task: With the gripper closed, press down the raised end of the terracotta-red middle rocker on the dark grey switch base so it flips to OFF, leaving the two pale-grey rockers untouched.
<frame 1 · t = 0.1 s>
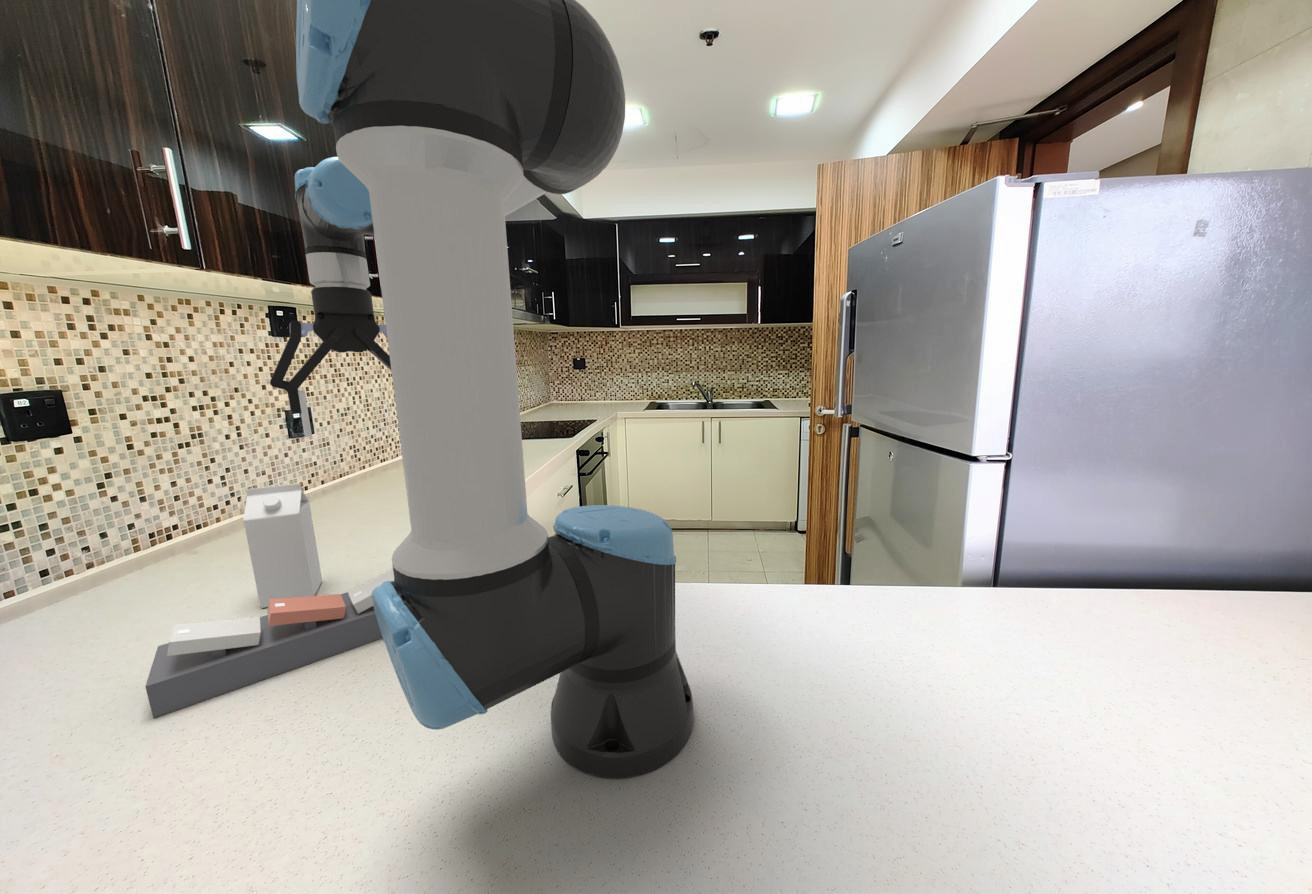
hand: (361, 430, 74), 28 cm above the worktop, fingers open, 13 cm apart
rocker grey 2: (382, 586, 69), point 6 cm above the worktop, hinge at -15.0°
rocker red: (307, 608, 64), point 6 cm above the worktop, hinge at 15.0°
dark grey switch base: (313, 644, 66), on the worktop
rocker grey 1: (217, 634, 58), point 6 cm above the worktop, hinge at 15.0°
milk carton: (293, 595, 80), on the worktop
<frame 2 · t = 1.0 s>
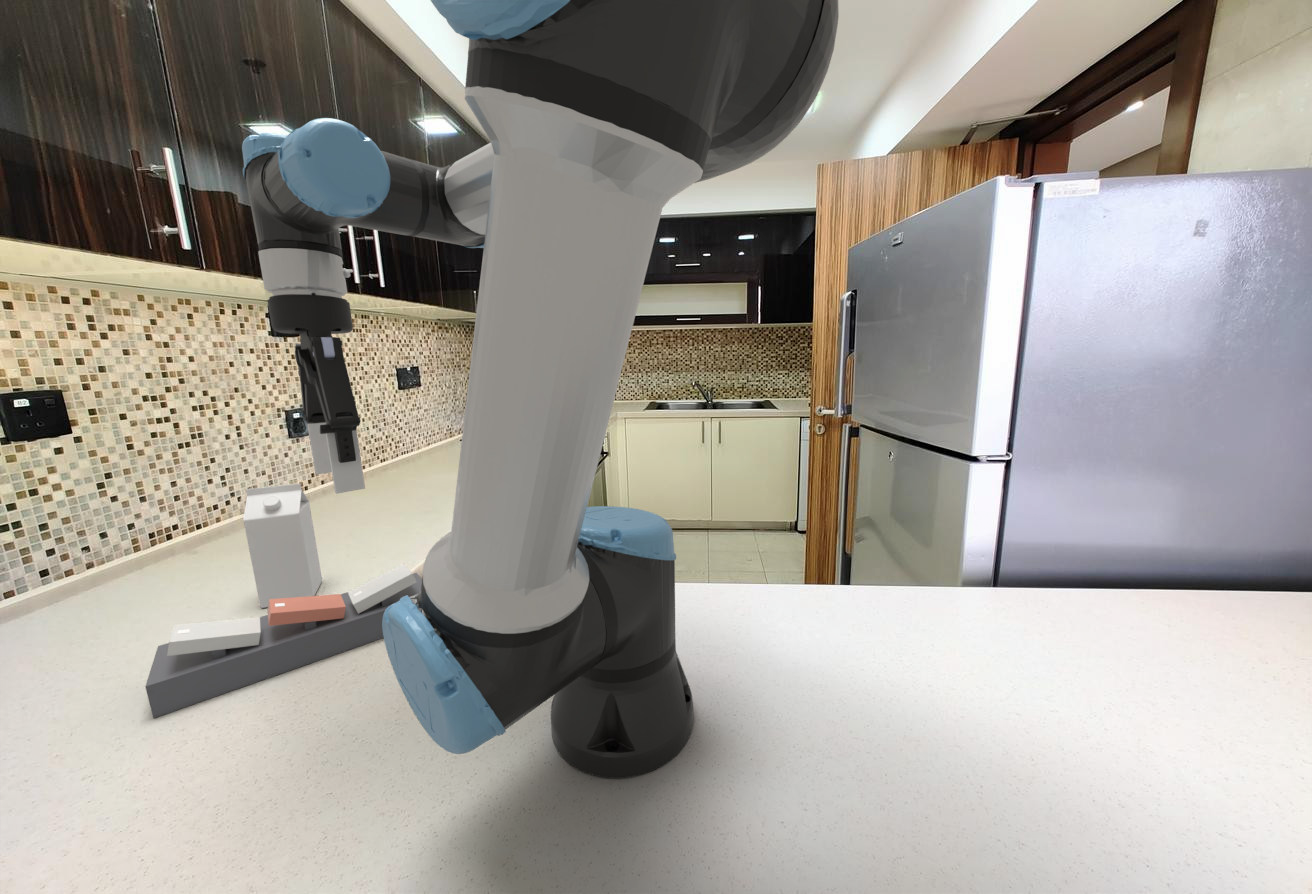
hand: (338, 481, 57), 24 cm above the worktop, fingers open, 13 cm apart
nothing on the worktop moved.
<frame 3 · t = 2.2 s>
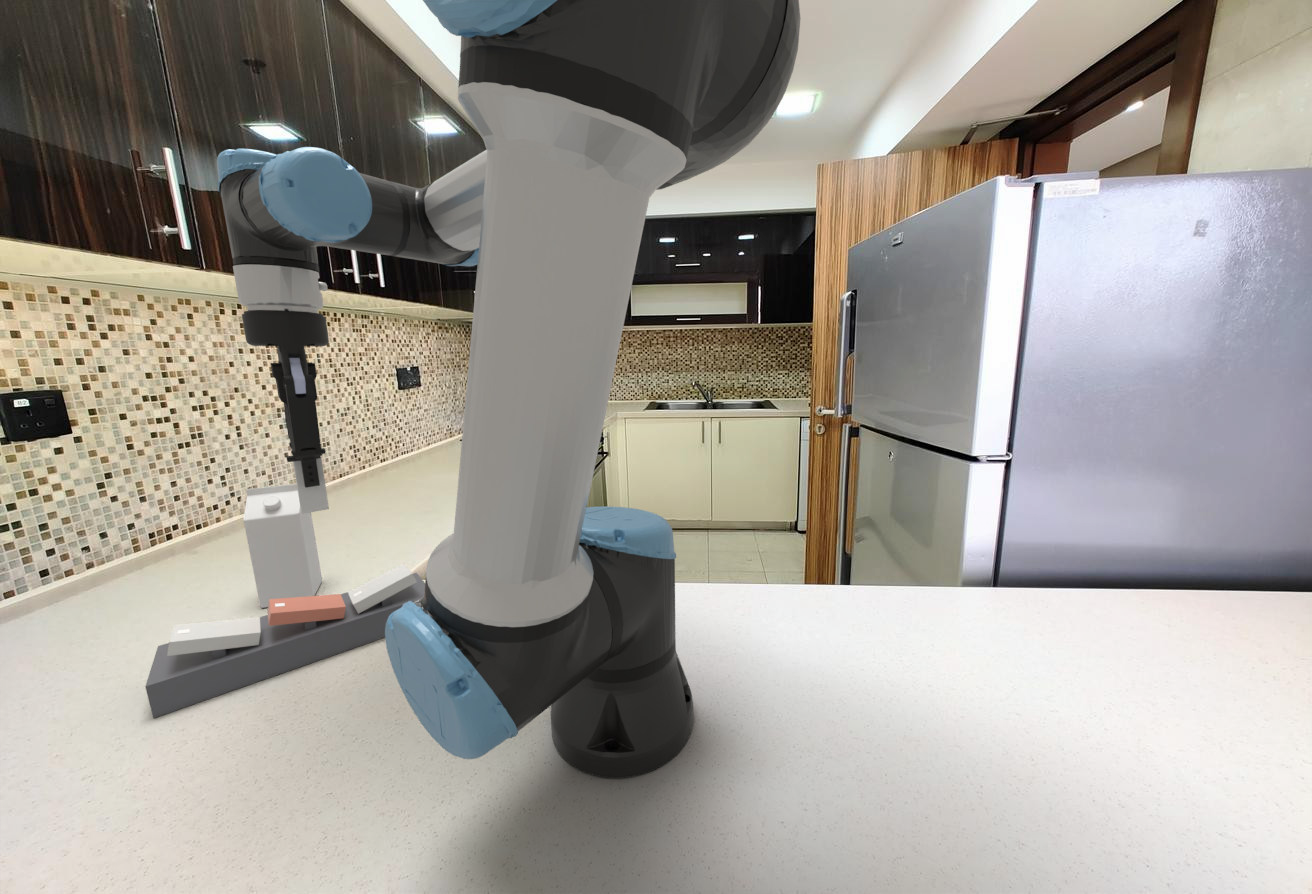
hand: (314, 509, 58), 21 cm above the worktop, fingers closed
nothing on the worktop moved.
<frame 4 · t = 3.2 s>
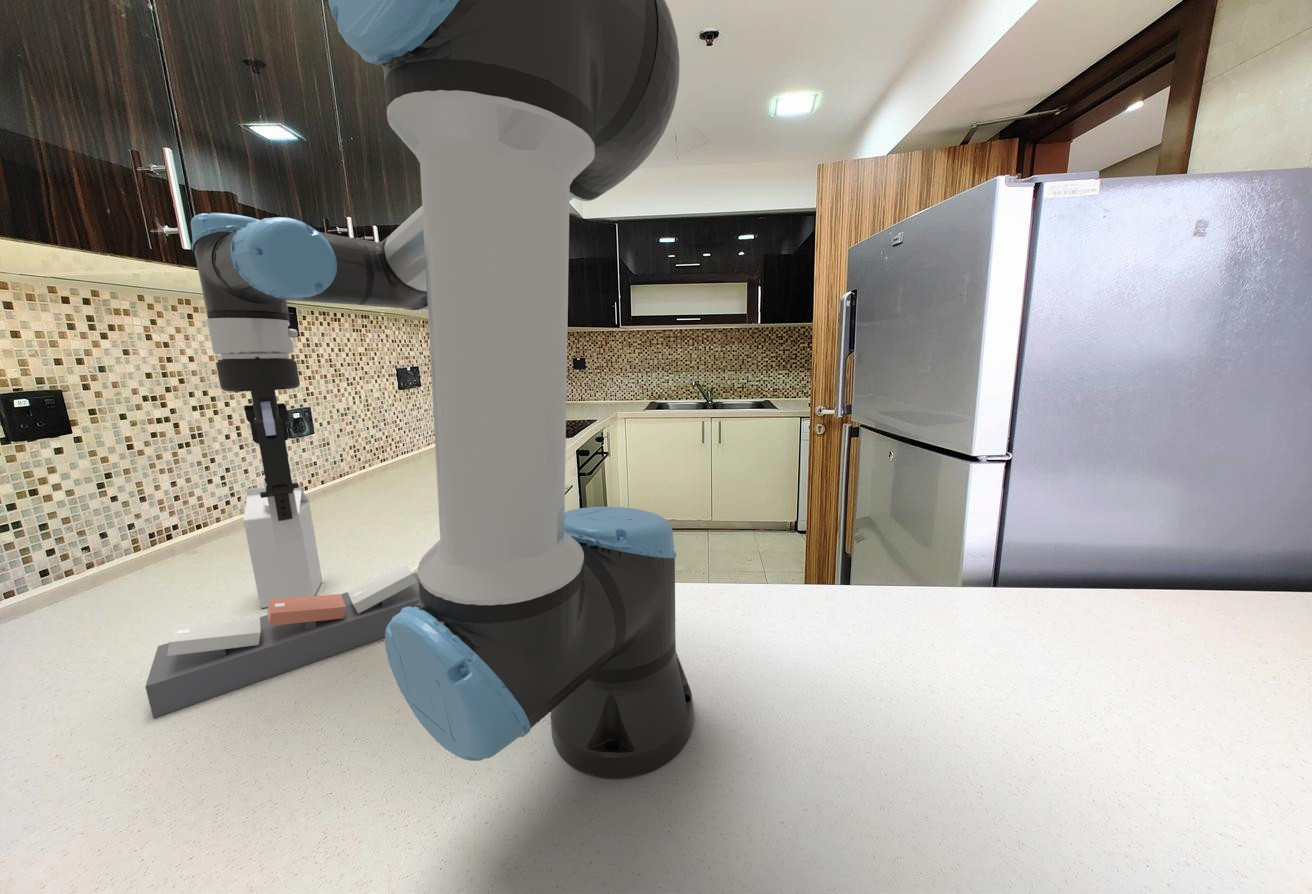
hand: (288, 541, 62), 16 cm above the worktop, fingers closed
nothing on the worktop moved.
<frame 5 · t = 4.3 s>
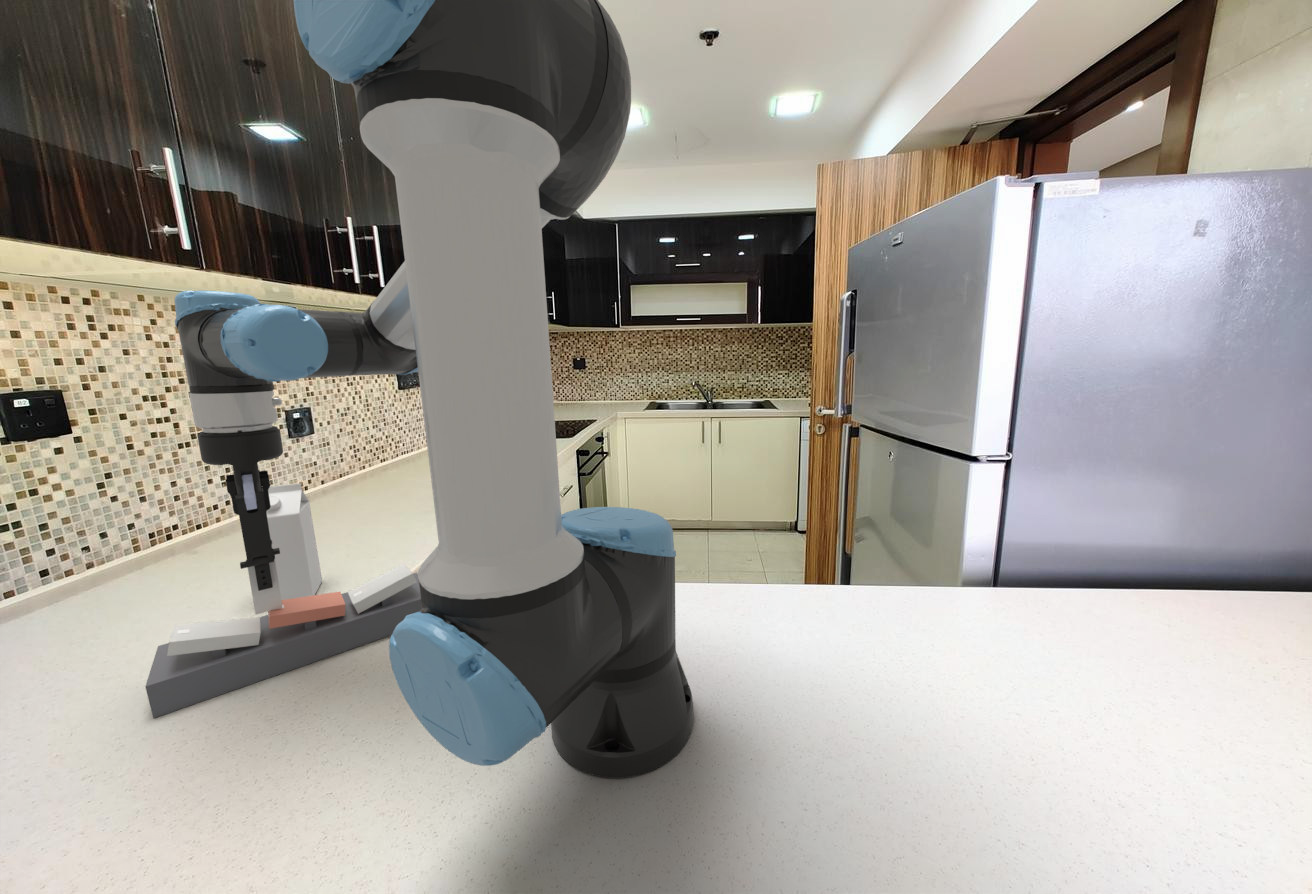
hand: (268, 608, 61), 7 cm above the worktop, fingers closed
rocker red: (307, 608, 64), point 6 cm above the worktop, hinge at 9.5°, touching gripper
everything else where it was.
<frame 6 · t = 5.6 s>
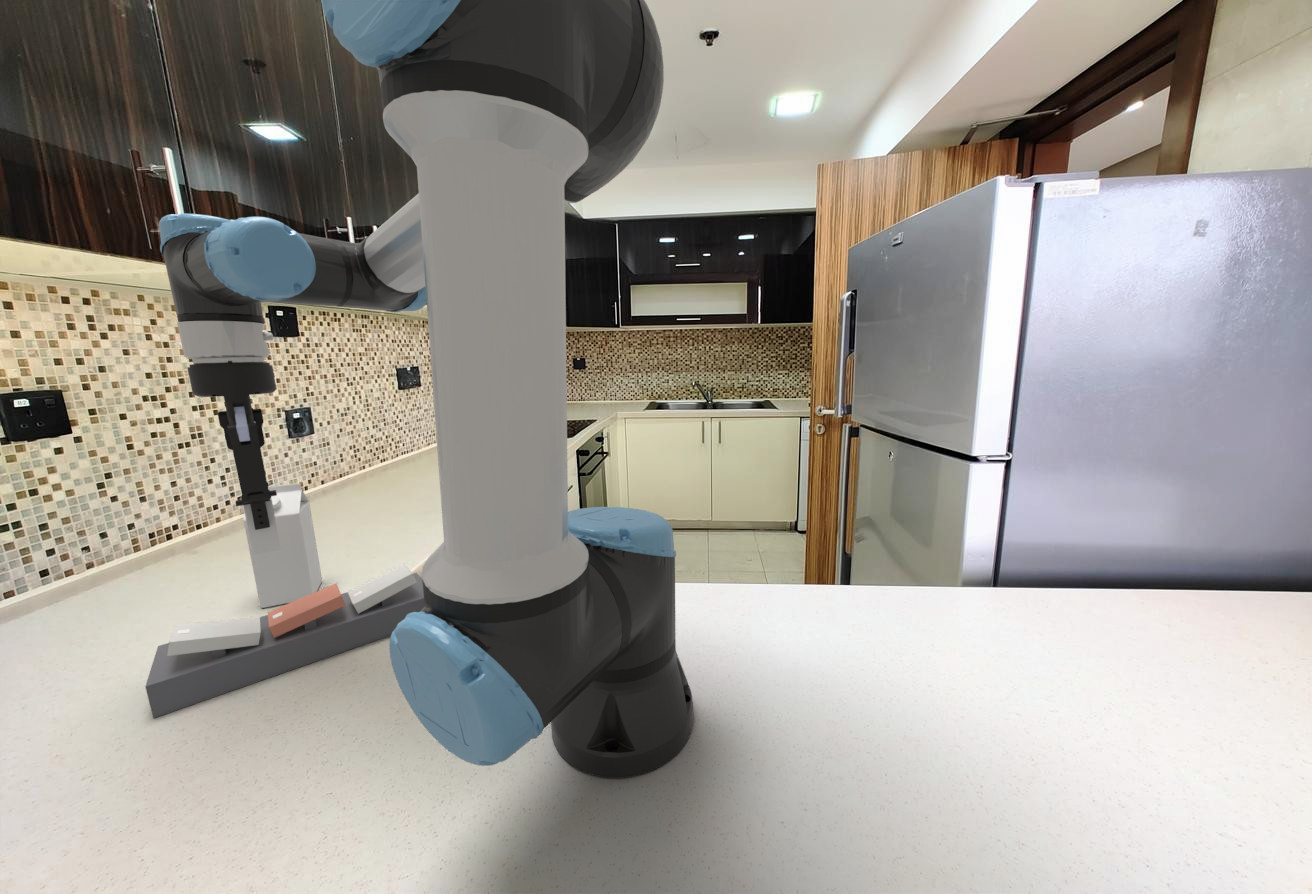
hand: (267, 550, 60), 15 cm above the worktop, fingers closed
rocker red: (307, 608, 64), point 6 cm above the worktop, hinge at -10.6°
everything else where it was.
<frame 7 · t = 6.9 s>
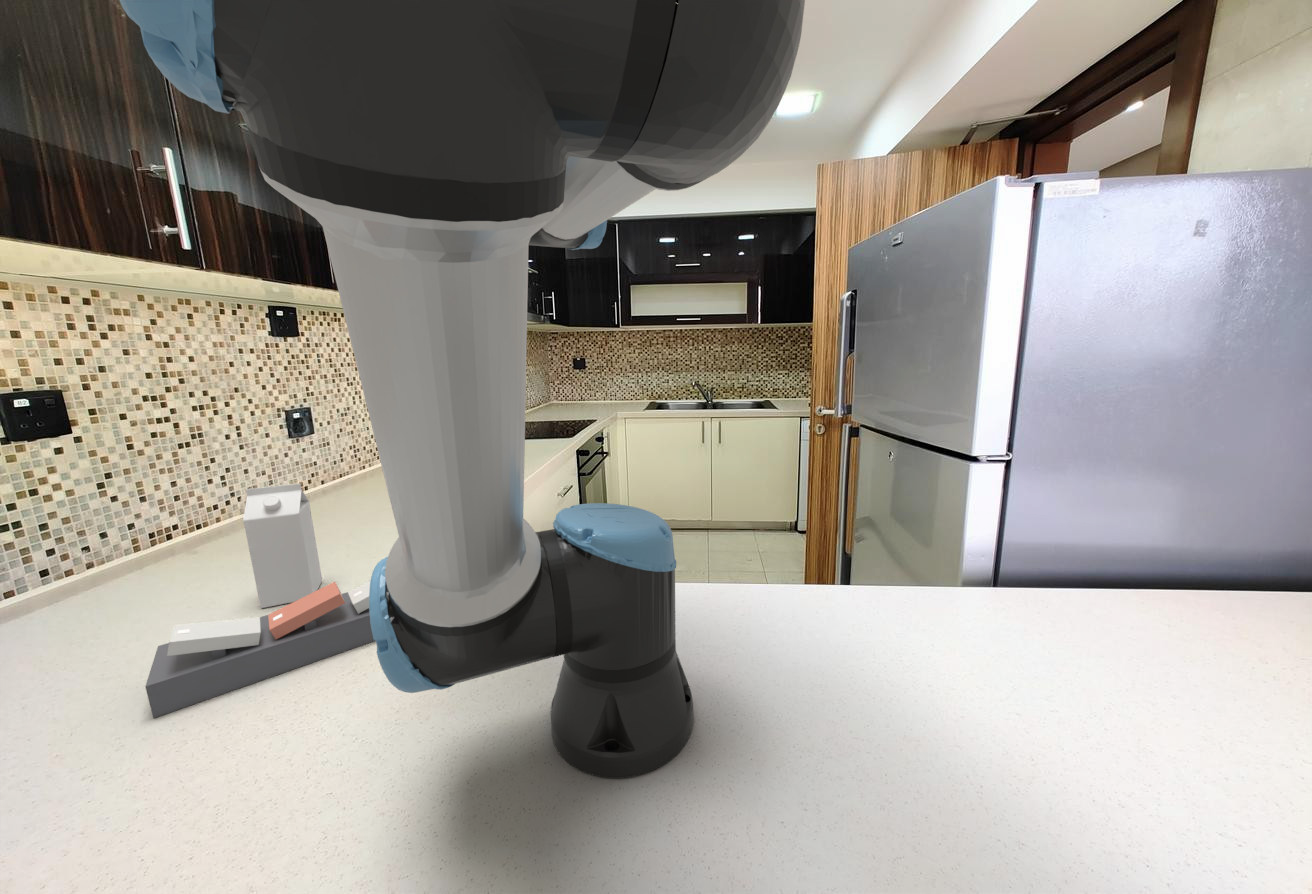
hand: (463, 484, 65), 22 cm above the worktop, fingers closed
rocker red: (307, 608, 64), point 6 cm above the worktop, hinge at -15.2°
everything else where it was.
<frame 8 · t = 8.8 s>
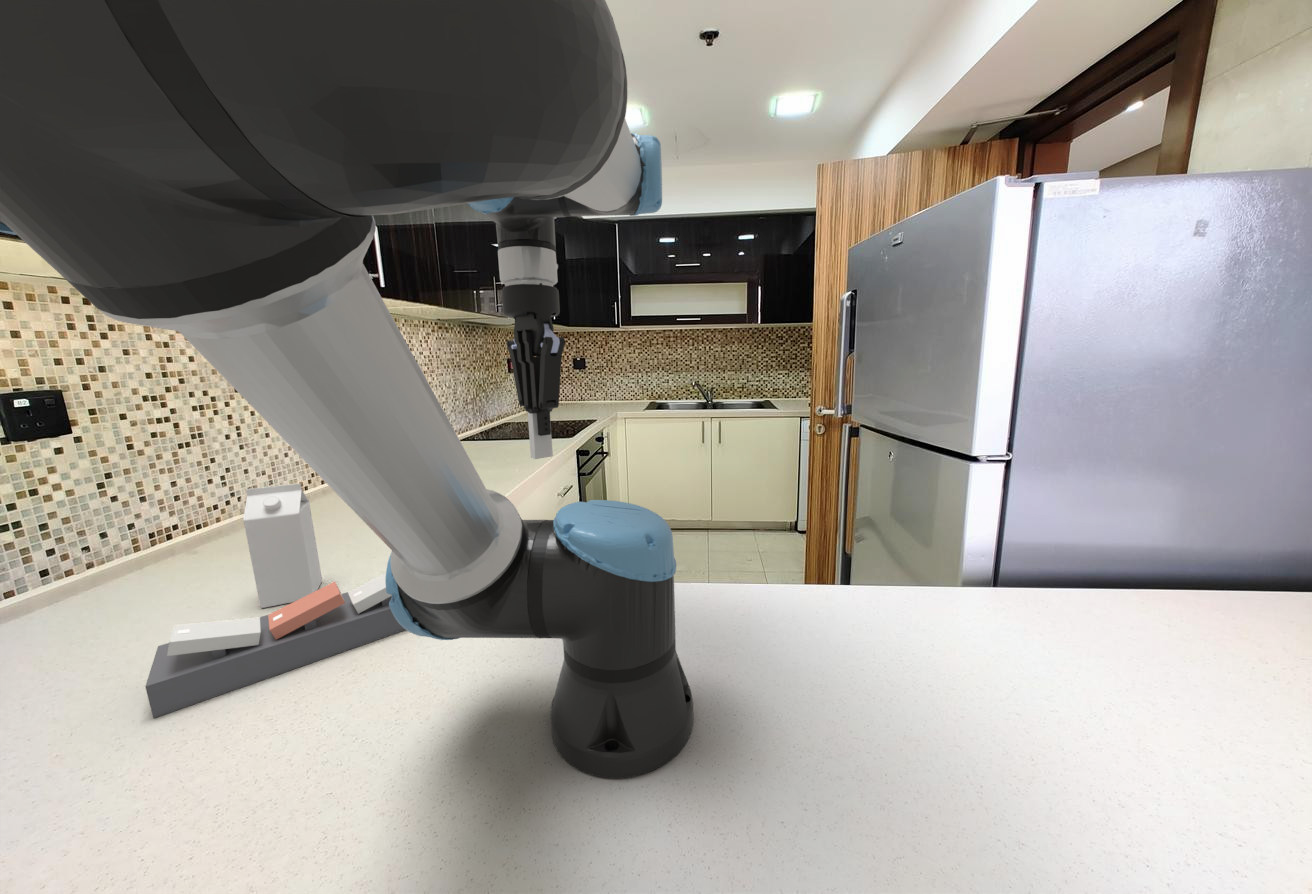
hand: (541, 456, 69), 24 cm above the worktop, fingers closed
nothing on the worktop moved.
at the end: rocker red at -15° (first picture: +15°); rocker grey 2 at -15° (first picture: -15°); rocker grey 1 at +15° (first picture: +15°) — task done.
